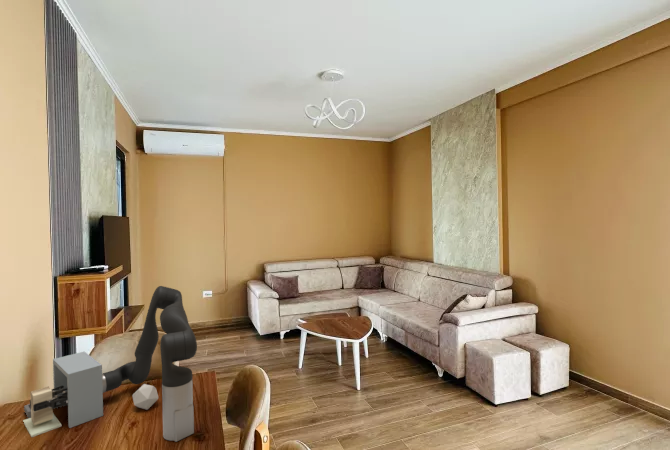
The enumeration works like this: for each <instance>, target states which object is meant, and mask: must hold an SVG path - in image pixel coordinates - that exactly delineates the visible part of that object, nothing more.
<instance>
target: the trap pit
mask: <svg viewBox="0 0 670 450" xmlns="http://www.w3.org/2000/svg"><path fill="white" fill-rule="evenodd" d="M23 411H25V413H26V415H27V416H26V415H25V416H26V418H27V417H28V418H31V405H30V403H28V404H26V405H23ZM25 413H24V414H25ZM28 418H27V419H28Z"/></svg>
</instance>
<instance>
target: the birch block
mask: <svg viewBox="0 0 670 450" xmlns="http://www.w3.org/2000/svg"><path fill="white" fill-rule="evenodd" d="M51 389H52V388H51V387H50V386H45V387H42V388H39V389H34V390H32V391H30V399H31V420H32V422H33V424H34V425H37V424H40V423H43V422H46V421H49V420H51V419H53V414H54V412H53V411H54V410H53V409H52V407H51V408H48V407H47V408H44V409H41V410H38V411H34V410H33V405H34V404H37V403H40V402H43V401H47V402H48V400H50V399H52V390H51Z"/></svg>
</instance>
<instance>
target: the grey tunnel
mask: <svg viewBox="0 0 670 450" xmlns="http://www.w3.org/2000/svg"><path fill="white" fill-rule="evenodd" d="M52 371H53V373H52V374H53V375H52V376H53V379H52V380H53V389H54V388H57V387H59V386H64V388H66V387H67V388H68V405H67V416H68V417H67V418H68V419H67V421H68V422H67V423H68V424H67V426H68V428H69V429H72V428H73V427H74V428H75V427H77V426H79V425H81V424H84V423H87V422H90V421H92V420H95V419H97V418H100V417H104V402H103V400H104V397H103V395H104V393H103V387H102V374H103V364H101V363H100V362H99V361H97V360H96V359H95V358H93V357H92V356H91V355H90V354H88V353H87V352H85V351H81V352H80V351H79V352H77V353H72V354H68V355H65V356H60V357H55V358H52Z"/></svg>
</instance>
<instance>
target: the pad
mask: <svg viewBox="0 0 670 450" xmlns="http://www.w3.org/2000/svg"><path fill="white" fill-rule="evenodd" d="M22 422H24V423H23V424H24V426H25V428H26V430H27V432H28V434H29V435H30V437H31V438H34V437H36V436H38V435H42V434H44V433H47V432H50V431H52V430H56V429H58V428H61V427H62V423H61V422H60V421H59V419H58V418H57V417H56V415H55V414H54V413H53V419H51V420H49V421H46V422H43V423H40V424H37V425H34V424H33V422H32V420H31V418H26V419H23V420H22Z"/></svg>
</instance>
